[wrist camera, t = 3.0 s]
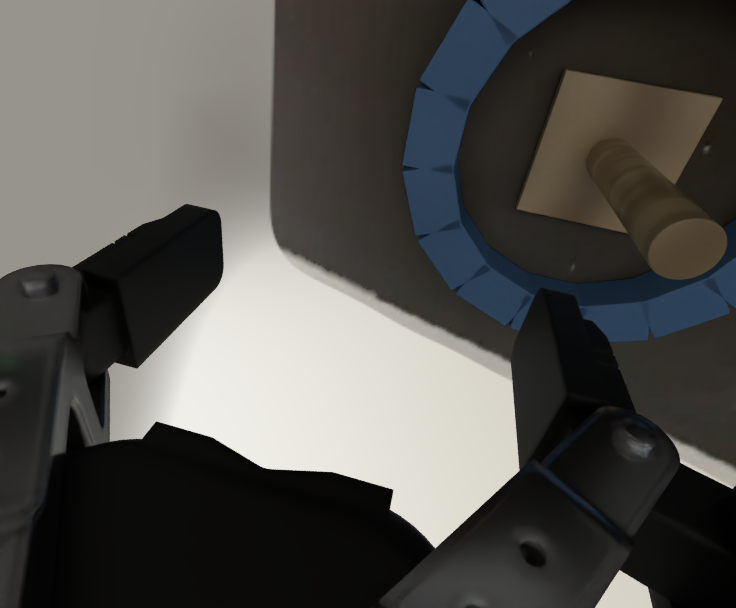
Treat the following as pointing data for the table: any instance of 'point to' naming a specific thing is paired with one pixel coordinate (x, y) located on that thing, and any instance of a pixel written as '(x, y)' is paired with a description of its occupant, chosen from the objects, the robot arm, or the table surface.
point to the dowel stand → (626, 168)
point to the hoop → (459, 233)
